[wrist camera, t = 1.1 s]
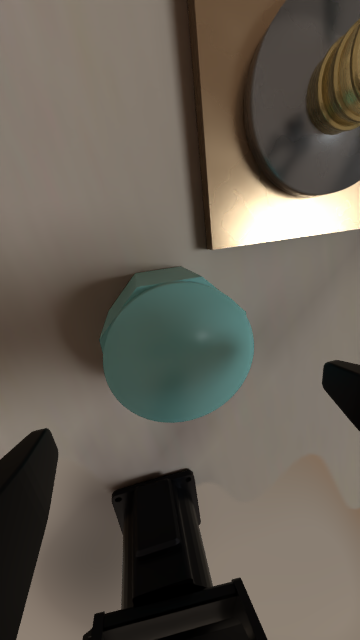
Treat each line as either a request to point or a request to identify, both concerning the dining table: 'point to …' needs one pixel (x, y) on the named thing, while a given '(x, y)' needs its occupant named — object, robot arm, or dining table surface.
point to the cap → (175, 346)
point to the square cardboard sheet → (277, 117)
